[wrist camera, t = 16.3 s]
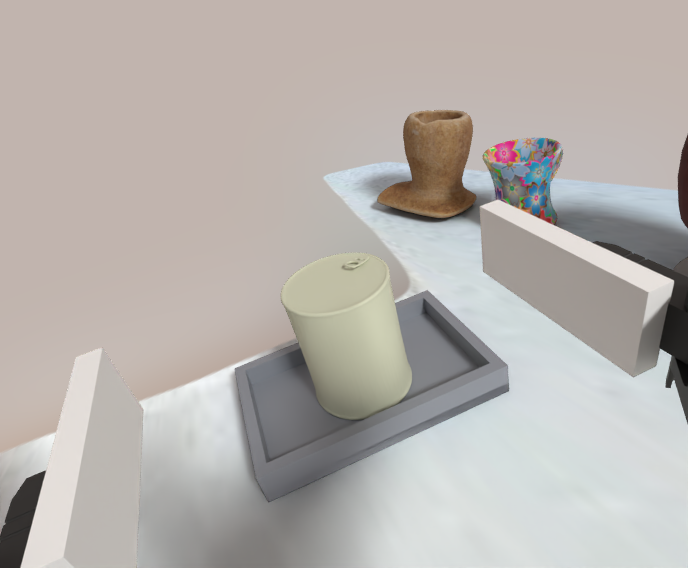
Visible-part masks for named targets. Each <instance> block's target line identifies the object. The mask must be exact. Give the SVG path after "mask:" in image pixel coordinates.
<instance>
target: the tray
mask: <svg viewBox="0 0 688 568" xmlns="http://www.w3.org/2000/svg"><path fill="white" fill-rule="evenodd" d="M395 306H396V311H397V316H398V321H399V325H400V330H401V335H402V339H403V344H404V348H405V352H406V356H407V360H408V363H409V365H410V368H411V371H412V383H411V386H410V389H409V391H408V393H407V394H406V396H405V397H404V398H403V400H402V401H401V402H400V403H399V404H398V405H395V406H393V407H391V408H389V409H386V410H384V411H382V412H380V413H378V414H375V415H373V416H371V417H369V418H366V419H363V420H347V419H342V418H338V417H336V416H333V415H332V414H330V413H328V412H327V411H326V410H325V409H324V408H323V407H322V406H321V405H320V403H319V401H318V399H317V396H316V389H315V386H314V383H313V380H312V377H311V374H310V372H309V369H308V366H307V364H306V361H305V358H304V356H303V353H302V350H301V348H300V345H299V343H296V344H294V345H291V346H289V347H286V348H284V349H281V350H279V351H276V352H274V353H272V354H269V355H267V356H264V357H262V358H259V359H257V360H254V361H252V362H249V363H247V364H244V365H242V366H240V367H237V368H235V374H236V379H237V384H238V389H239V394H240V399H241V404H242V410H243V415H244V420H245V425H246V430H247V435H248V440H249V445H250V450H251V456H252V461H253V466H254V471H255V476H256V480H257V482H258V483H259V485H260V487H261V489H262V491H263V493H264V494H265V496H266V498H267V500H268V502H270V501H272V500H274V499H277V498H279V497H281V496H283V495H285V494H287V493H290V492H292V491H294V490H296V489H298V488H300V487H303V486H305V485H307V484H309V483H311V482H313V481H315V480H318V479H320V478H322V477H324V476H326V475H328V474H331V473H333V472H335V471H337V470H339V469H341V468H344V467H346V466H348V465H350V464H352V463H354V462H357V461H359V460H361V459H363V458H365V457H367V456H369V455H372V454H374V453H376V452H378V451H380V450H382V449H385V448H387V447H389V446H391V445H393V444H395V443H398V442H400V441H402V440H404V439H406V438H408V437H410V436H413V435H415V434H417V433H419V432H421V431H423V430H426V429H428V428H430V427H432V426H434V425H436V424H439V423H441V422H443V421H445V420H447V419H449V418H452V417H454V416H456V415H458V414H460V413H462V412H464V411H467V410H469V409H471V408H473V407H475V406H477V405H480V404H482V403H484V402H486V401H488V400H490V399H493V398H495V397H497V396H499V395H501V394H503V393H506V392H508V391H509V380H508V365H507V364H506V363H505V362H503V361H502V360H501V359H500V358H499V357H498V356H497V355H496V354H495V353H494V352H493V351H492V350H491V349H490V348H489V347H487V346H486V345H485V344H484V343H483V342H482V341H481V340H480V339H479V338H478V337H477V336H476V335H475V334H474V333H473V332H471V331H470V330H469V329H468V328H467V327H466V326H465V325H464V324H463V323H462V322H461V321H460V320H459V319H458V318H457V317H455V316H454V315H453V314H452V313H451V312H450V311H449V310H448V309H447V308H446V307H445V306H444V305H443V304H442V303H441V302H439V301H438V300H437V299H436V298H435V297H434V296H433V295H432V294H431V293H430V292H429V291H428V290H427V291H424V292H422V293H419V294H417V295H414V296H412V297H409V298H407V299H405V300H402V301H400V302H397V303H395Z"/></svg>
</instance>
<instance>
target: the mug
mask: <svg viewBox="0 0 688 568" xmlns="http://www.w3.org/2000/svg"><path fill="white" fill-rule="evenodd" d="M562 155H563V150H562V146H561V144H560V143H559V142H557V141H555V140H552V139H547V138H524V139H517V140H512V141H507V142H504V143H501V144H498V145H495V146H493V147H491V148H490V149H488V150H487V151H486V152H485V153H484V154H483V160H484V162H485V164H486V165H487V167H488V169H489V171H490V174H491V176H492V179H493V183H494V187H495V193H496V200H500V201H502V202H505V203H507V204H509V205H511V206H513V207H515V208H518V209H520V210H522V211H524V212H526V213H529V214H531V215H533V216H535V217H537V218H539V219H542V220H544V221H546V222H548V223H550V224H552V225H554V224H555V222H556V220H557V214H556V212H555V211H554V209H553V207H552V203H551V199H550V182H551V181H552V179H553V178H554V176H555V174H556V173H557V170H558V168H559V166H560V163H561V160H562Z"/></svg>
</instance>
